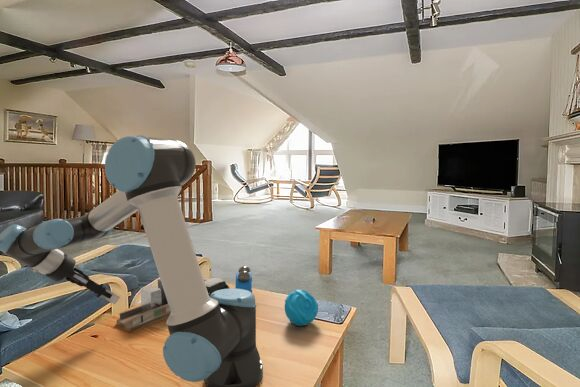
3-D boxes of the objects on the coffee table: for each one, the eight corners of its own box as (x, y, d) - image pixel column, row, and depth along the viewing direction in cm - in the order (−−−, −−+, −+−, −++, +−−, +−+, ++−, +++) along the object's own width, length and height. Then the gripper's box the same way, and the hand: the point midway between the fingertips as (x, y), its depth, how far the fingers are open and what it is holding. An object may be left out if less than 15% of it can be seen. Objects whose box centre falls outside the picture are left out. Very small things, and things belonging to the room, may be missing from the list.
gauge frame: (182, 311, 126) (181, 282, 125) (130, 332, 110) (129, 299, 109) (168, 304, 132) (166, 276, 131) (116, 323, 116) (115, 292, 115)
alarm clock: (237, 299, 137) (236, 263, 135) (252, 298, 138) (251, 263, 136) (235, 313, 124) (235, 274, 122) (252, 312, 125) (251, 274, 123)
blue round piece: (296, 335, 108) (296, 301, 107) (277, 321, 118) (277, 290, 116) (323, 324, 115) (324, 292, 114) (303, 312, 125) (303, 282, 123)
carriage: (164, 314, 119) (163, 290, 119) (154, 318, 116) (153, 293, 115) (151, 307, 125) (150, 284, 124) (141, 311, 122) (140, 288, 121)
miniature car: (183, 305, 131) (183, 286, 130) (217, 291, 146) (217, 273, 145) (199, 311, 126) (198, 291, 125) (232, 295, 141) (232, 277, 140)
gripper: (37, 270, 99) (100, 305, 113) (52, 280, 91) (117, 316, 105) (57, 249, 103) (115, 286, 117) (72, 256, 94) (133, 294, 109)
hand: (116, 300), depth 111 cm, fingers closed
